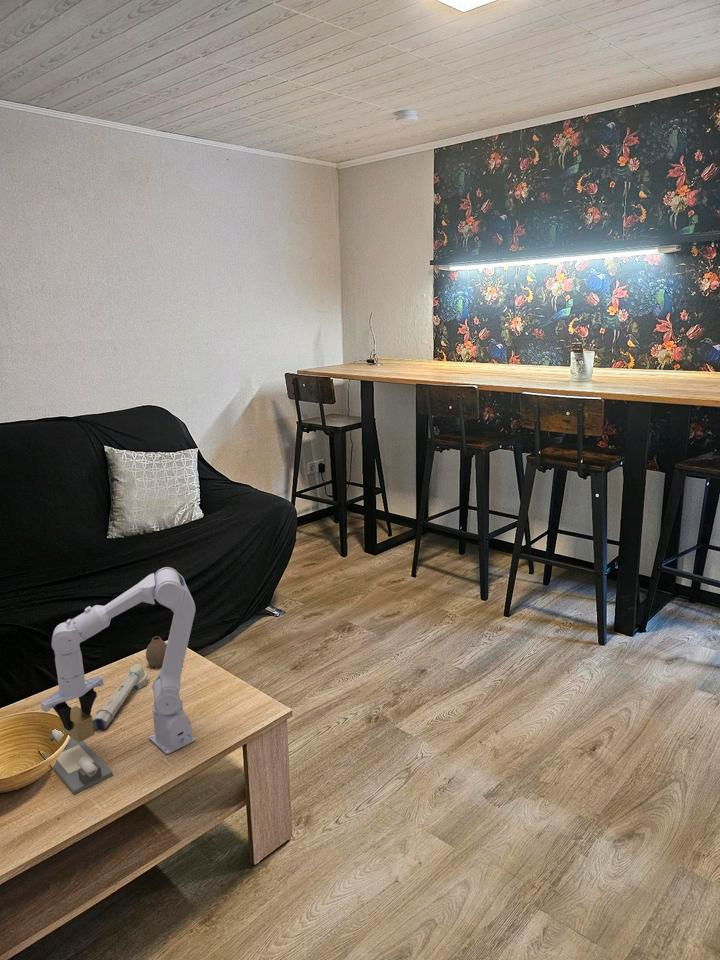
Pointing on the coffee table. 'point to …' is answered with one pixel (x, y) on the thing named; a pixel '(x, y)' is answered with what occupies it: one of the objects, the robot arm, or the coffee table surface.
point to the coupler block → (80, 725)
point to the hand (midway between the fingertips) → (77, 724)
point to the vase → (156, 652)
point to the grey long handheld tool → (120, 696)
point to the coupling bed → (75, 775)
